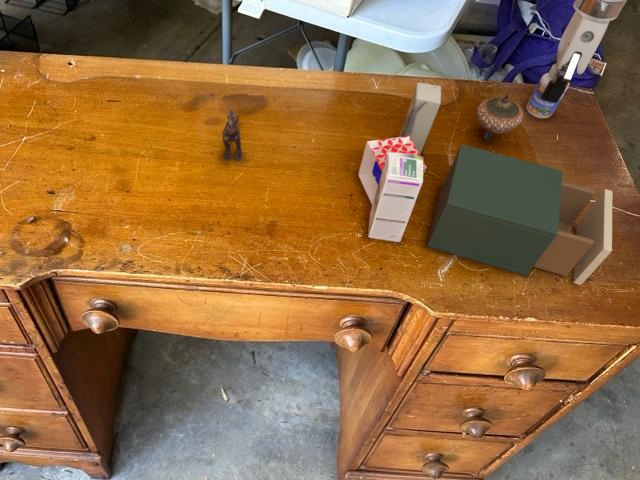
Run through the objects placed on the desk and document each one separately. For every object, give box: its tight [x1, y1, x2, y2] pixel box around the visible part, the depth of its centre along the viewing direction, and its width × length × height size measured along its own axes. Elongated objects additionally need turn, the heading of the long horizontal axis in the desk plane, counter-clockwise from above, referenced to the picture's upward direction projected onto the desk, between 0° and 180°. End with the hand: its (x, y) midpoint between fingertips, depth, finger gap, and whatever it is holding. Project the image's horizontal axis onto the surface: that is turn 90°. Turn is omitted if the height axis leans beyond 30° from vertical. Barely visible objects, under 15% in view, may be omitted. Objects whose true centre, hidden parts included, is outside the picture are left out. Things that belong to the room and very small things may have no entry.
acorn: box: [476, 94, 524, 139], centre depth 109 cm, size 8×8×10 cm
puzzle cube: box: [357, 136, 427, 205], centre depth 101 cm, size 8×8×8 cm
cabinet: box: [426, 144, 564, 277], centre depth 95 cm, size 17×15×11 cm
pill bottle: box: [525, 62, 571, 119], centre depth 114 cm, size 5×5×10 cm
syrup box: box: [367, 152, 424, 243], centre depth 93 cm, size 6×6×14 cm
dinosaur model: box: [222, 110, 243, 161], centre depth 105 cm, size 4×12×15 cm
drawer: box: [533, 181, 613, 286], centre depth 93 cm, size 17×13×9 cm
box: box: [398, 82, 442, 155], centre depth 105 cm, size 5×4×13 cm
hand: (550, 90), depth 114 cm, fingers closed on pill bottle, 5 cm apart
